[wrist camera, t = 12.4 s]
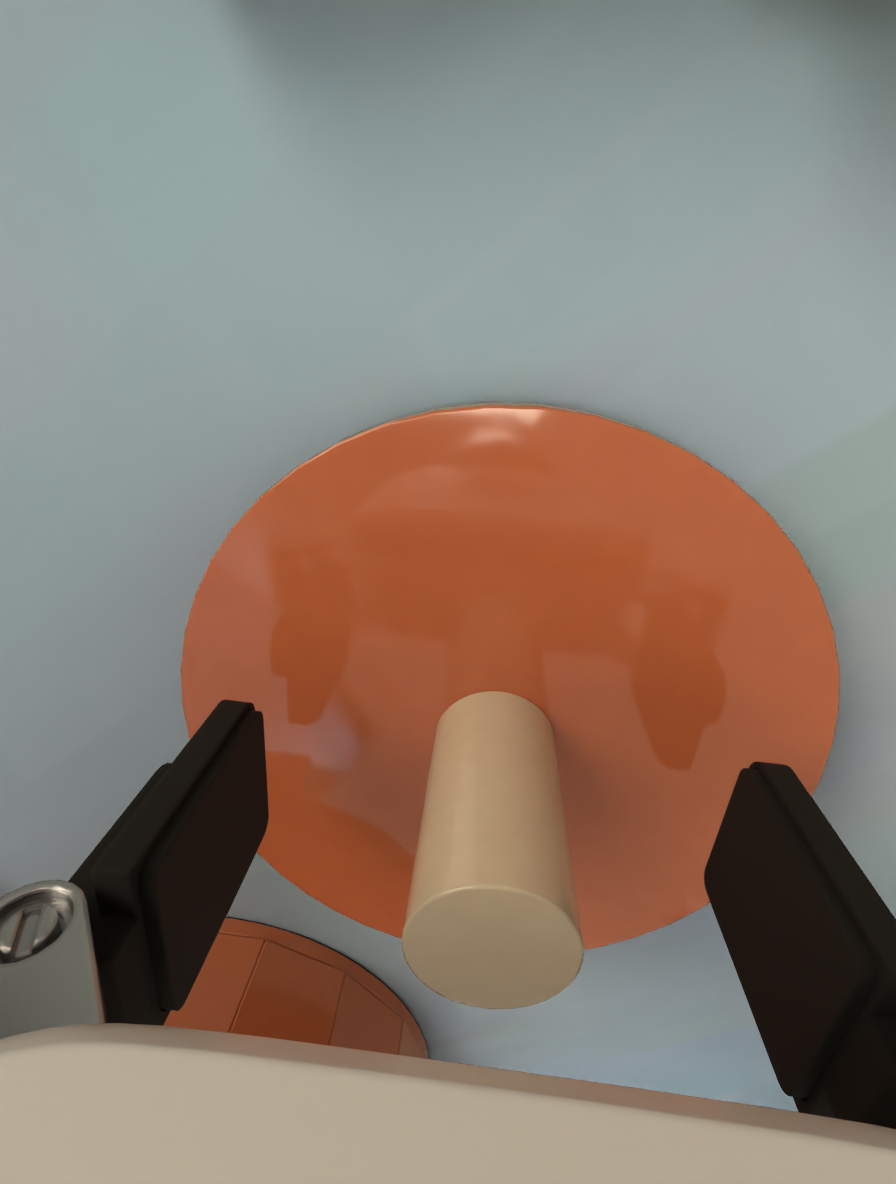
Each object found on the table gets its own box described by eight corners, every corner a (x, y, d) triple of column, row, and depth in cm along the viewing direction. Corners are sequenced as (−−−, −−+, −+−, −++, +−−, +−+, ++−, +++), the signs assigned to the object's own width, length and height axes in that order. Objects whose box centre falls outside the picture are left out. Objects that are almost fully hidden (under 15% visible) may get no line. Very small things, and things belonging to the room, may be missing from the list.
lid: (226, 881, 17) (95, 1142, 11) (175, 366, 11) (-135, 390, 6) (715, 945, 16) (825, 1252, 11) (917, 435, 11) (1363, 535, 5)
